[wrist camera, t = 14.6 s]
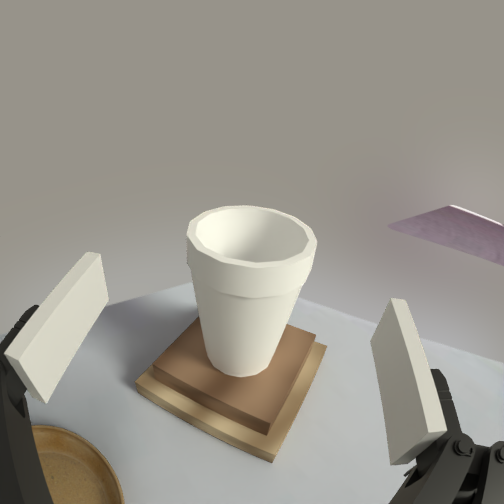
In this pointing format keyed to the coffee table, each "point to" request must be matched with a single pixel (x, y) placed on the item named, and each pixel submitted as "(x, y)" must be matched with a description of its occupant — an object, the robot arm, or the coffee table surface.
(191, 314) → the coffee table surface
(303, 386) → the plinth
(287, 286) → the foam cup
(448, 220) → the coffee table surface
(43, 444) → the plant saucer
